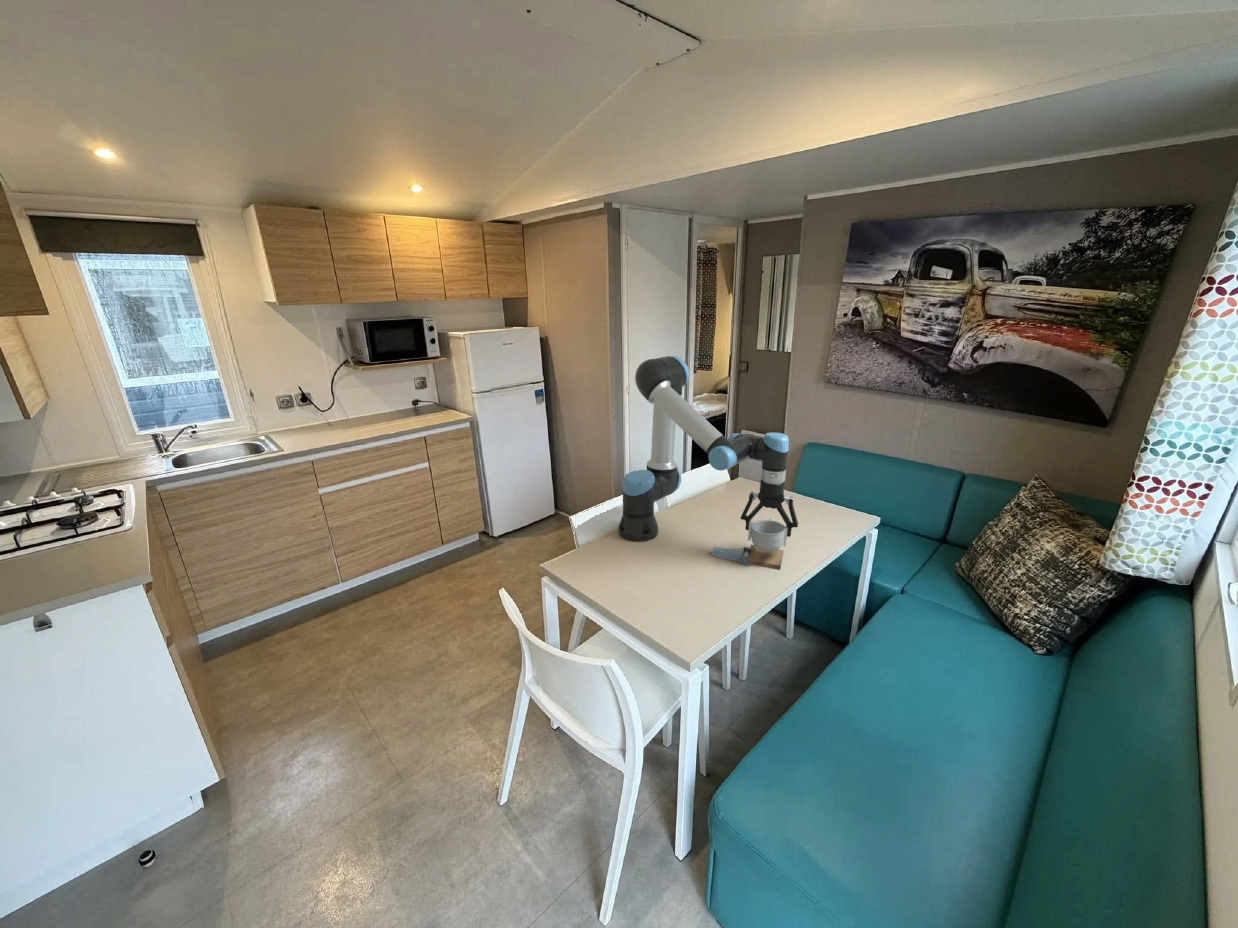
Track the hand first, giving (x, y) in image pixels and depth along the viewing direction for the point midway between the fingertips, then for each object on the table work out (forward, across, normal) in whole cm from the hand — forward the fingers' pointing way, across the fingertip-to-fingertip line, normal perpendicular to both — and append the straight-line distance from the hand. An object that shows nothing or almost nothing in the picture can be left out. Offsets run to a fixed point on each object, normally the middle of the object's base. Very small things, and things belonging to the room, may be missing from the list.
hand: (766, 541), depth 163 cm
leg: (+6, -11, -4) cm, 13 cm away
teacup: (+2, 0, 0) cm, 2 cm away
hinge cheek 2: (+6, -6, -7) cm, 11 cm away
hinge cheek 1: (+6, -6, -1) cm, 9 cm away
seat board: (+6, 0, 0) cm, 6 cm away
